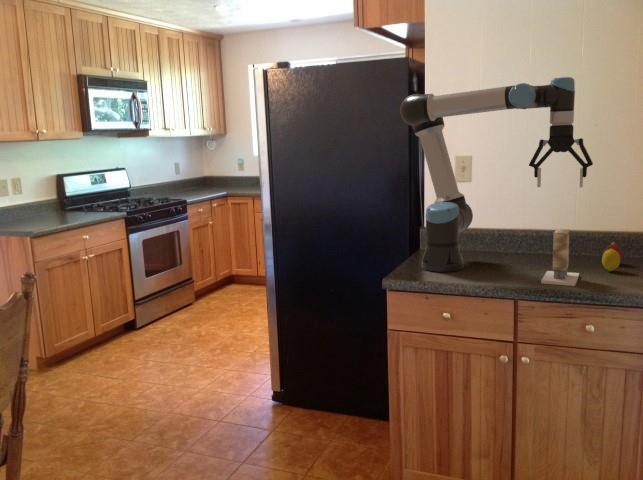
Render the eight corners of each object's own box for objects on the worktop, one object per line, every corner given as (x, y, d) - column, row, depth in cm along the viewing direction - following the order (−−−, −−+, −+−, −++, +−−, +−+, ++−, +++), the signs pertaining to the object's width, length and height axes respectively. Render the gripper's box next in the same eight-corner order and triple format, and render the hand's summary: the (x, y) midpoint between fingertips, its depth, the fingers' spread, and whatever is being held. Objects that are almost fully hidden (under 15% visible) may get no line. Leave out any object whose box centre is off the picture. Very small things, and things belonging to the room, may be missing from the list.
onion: (613, 266, 207) (614, 244, 206) (599, 263, 213) (600, 242, 211) (624, 264, 210) (625, 242, 209) (610, 261, 215) (611, 240, 214)
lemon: (621, 273, 198) (622, 250, 196) (603, 273, 199) (604, 250, 197) (616, 269, 203) (618, 246, 202) (599, 269, 204) (600, 246, 203)
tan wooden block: (552, 269, 190) (553, 233, 188) (555, 264, 197) (556, 229, 195) (565, 270, 188) (567, 233, 186) (568, 265, 195) (569, 229, 193)
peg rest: (541, 283, 189) (541, 271, 188) (547, 273, 201) (547, 262, 201) (574, 286, 184) (575, 273, 184) (579, 276, 197) (579, 264, 196)
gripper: (602, 122, 198) (600, 186, 201) (525, 126, 209) (523, 185, 213) (601, 122, 191) (598, 188, 195) (521, 126, 203) (520, 187, 207)
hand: (559, 187), depth 204 cm, fingers open, 13 cm apart
